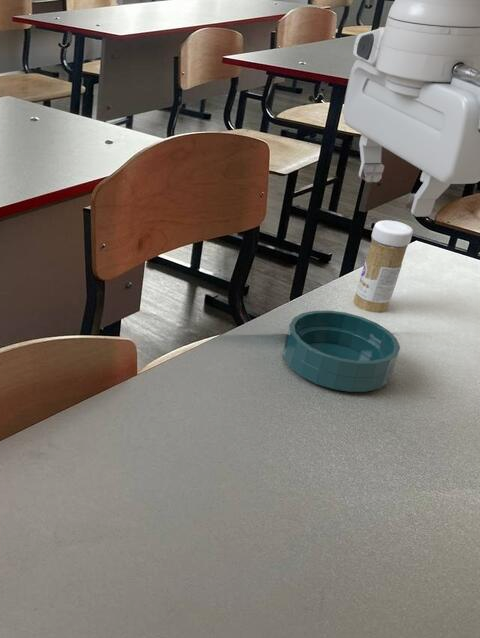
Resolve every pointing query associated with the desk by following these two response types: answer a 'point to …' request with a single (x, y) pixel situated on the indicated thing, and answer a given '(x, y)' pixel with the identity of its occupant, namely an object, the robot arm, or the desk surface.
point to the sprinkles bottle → (382, 265)
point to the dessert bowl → (340, 350)
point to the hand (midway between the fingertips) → (391, 196)
